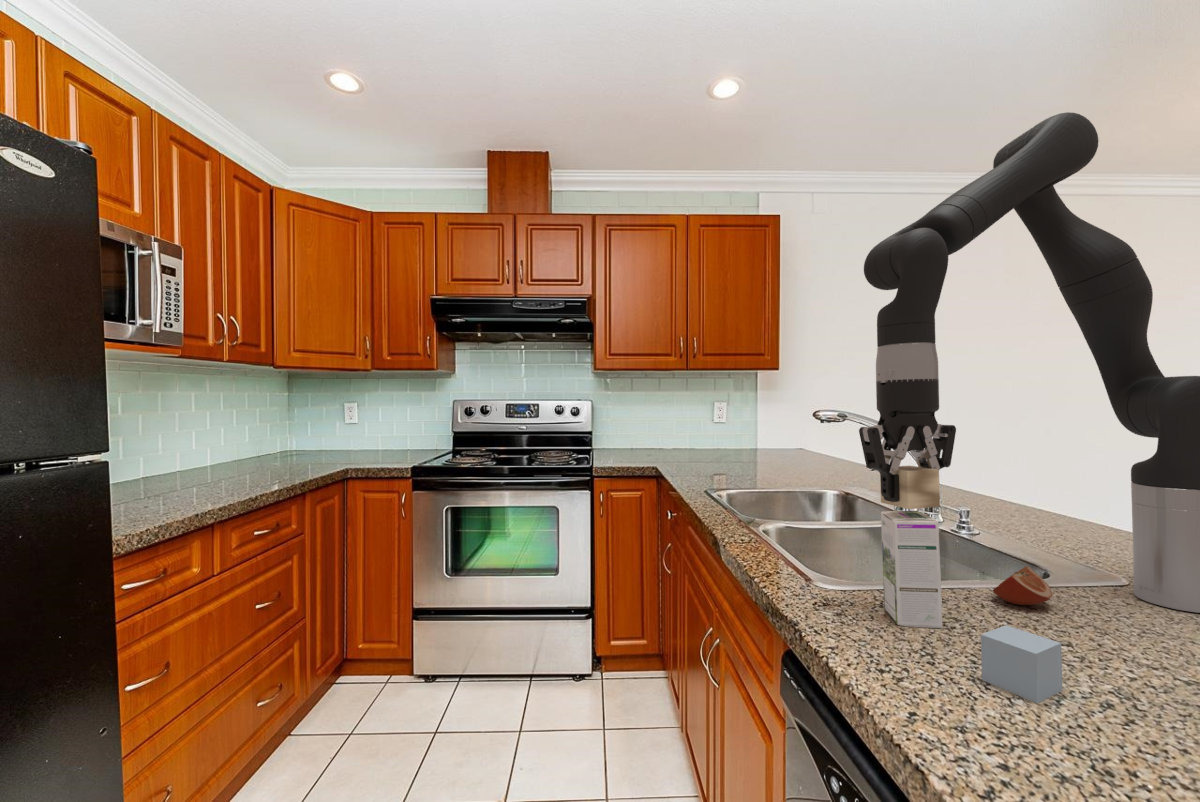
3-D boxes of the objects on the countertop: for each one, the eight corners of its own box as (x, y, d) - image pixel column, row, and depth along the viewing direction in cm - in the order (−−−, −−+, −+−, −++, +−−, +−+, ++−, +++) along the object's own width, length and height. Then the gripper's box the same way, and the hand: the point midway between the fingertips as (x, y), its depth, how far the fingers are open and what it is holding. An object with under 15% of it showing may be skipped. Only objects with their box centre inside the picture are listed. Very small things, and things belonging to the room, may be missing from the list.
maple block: (911, 500, 75) (910, 465, 75) (940, 506, 70) (938, 469, 70) (880, 502, 74) (879, 467, 74) (908, 509, 69) (907, 471, 69)
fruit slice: (1004, 591, 82) (1003, 559, 82) (1059, 603, 77) (1058, 570, 77) (985, 604, 77) (984, 570, 77) (1043, 618, 72) (1042, 582, 72)
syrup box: (944, 629, 69) (942, 519, 69) (895, 626, 70) (893, 518, 70) (926, 612, 74) (924, 510, 74) (881, 609, 75) (879, 509, 76)
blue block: (1007, 669, 58) (1006, 625, 58) (1062, 691, 54) (1061, 643, 54) (981, 680, 56) (980, 634, 56) (1037, 704, 52) (1036, 653, 52)
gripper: (928, 379, 77) (931, 493, 77) (843, 379, 75) (845, 498, 74) (973, 376, 70) (976, 502, 70) (881, 376, 67) (884, 507, 67)
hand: (909, 499), depth 72 cm, fingers open, 5 cm apart
